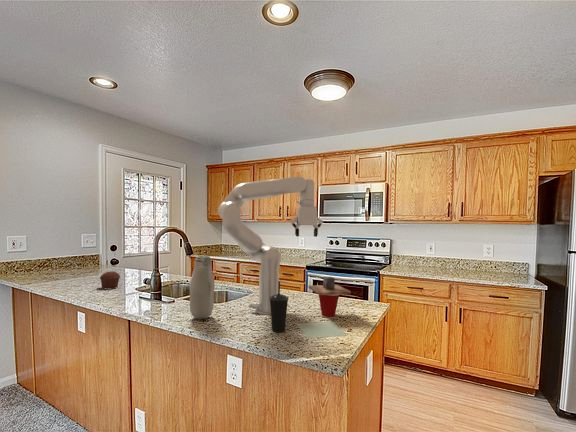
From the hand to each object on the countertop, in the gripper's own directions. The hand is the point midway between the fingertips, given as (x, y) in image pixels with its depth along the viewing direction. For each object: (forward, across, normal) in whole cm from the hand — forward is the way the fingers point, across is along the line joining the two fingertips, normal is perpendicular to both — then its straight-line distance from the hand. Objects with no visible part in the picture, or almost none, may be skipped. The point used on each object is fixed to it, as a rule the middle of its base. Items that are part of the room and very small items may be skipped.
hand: (306, 236), depth 154 cm
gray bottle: (+36, -51, -8) cm, 63 cm away
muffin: (+37, -111, +67) cm, 135 cm away
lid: (+24, +6, -17) cm, 30 cm away
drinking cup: (+36, -21, -32) cm, 53 cm away
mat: (+36, -4, -34) cm, 50 cm away
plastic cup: (+36, +6, -17) cm, 41 cm away
